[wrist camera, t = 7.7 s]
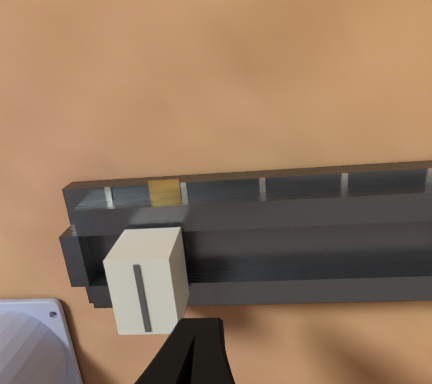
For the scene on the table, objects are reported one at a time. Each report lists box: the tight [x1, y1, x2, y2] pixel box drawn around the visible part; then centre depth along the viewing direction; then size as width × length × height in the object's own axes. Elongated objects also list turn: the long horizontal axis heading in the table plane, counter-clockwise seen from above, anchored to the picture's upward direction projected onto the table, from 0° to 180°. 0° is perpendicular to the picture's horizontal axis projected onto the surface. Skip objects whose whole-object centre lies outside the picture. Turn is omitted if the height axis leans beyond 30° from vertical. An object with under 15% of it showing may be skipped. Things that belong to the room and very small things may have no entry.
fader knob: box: [103, 227, 189, 335], centre depth 18 cm, size 4×3×5 cm
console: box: [59, 160, 432, 308], centre depth 20 cm, size 8×21×3 cm, turn 95°
